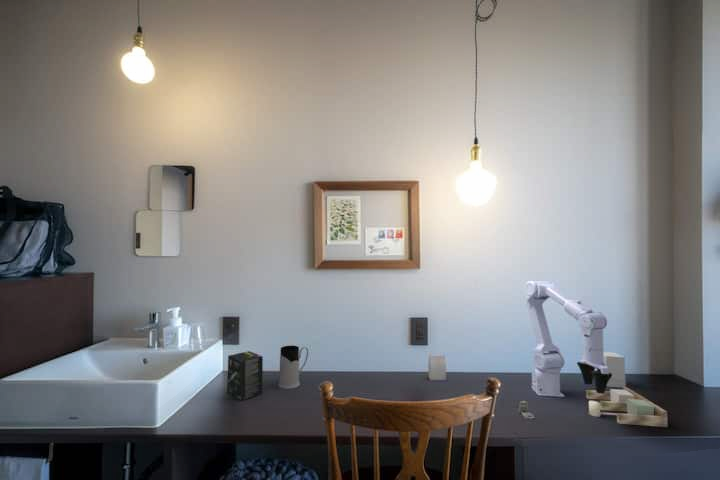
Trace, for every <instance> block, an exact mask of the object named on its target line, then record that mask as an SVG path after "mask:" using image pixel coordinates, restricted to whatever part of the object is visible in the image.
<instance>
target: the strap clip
mask: <svg viewBox="0 0 720 480" xmlns="http://www.w3.org/2000/svg"><path fill="white" fill-rule="evenodd" d="M513 408H514V410H516V412H518V413H520V414H521V416H522V417H524V418H525V419H526V420H535V416H534V415H533V414H532V413H531V412H529V402H528V401H526V400H521V401H519V406H514V407H513Z"/></svg>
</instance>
